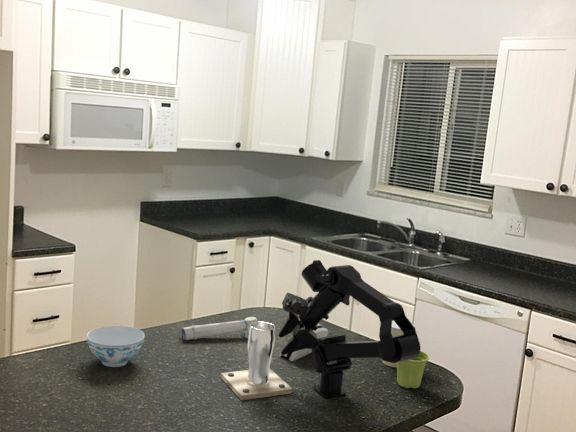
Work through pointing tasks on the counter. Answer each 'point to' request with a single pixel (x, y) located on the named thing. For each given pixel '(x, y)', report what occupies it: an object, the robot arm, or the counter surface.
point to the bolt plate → (250, 391)
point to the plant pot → (411, 371)
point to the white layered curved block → (298, 354)
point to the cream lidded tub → (395, 332)
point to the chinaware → (115, 344)
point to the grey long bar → (217, 329)
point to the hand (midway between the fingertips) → (280, 344)
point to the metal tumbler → (260, 352)
